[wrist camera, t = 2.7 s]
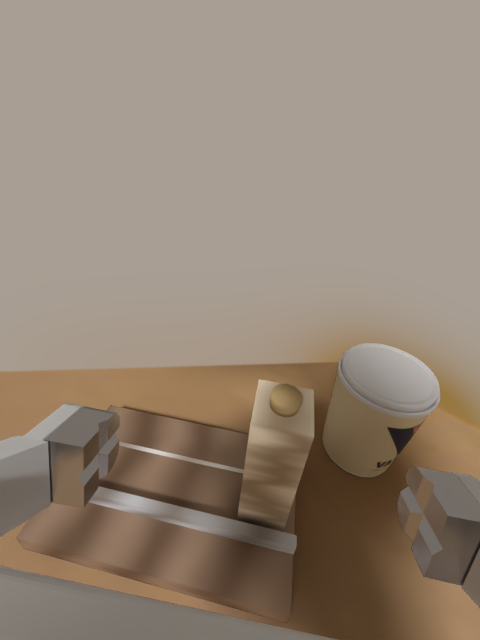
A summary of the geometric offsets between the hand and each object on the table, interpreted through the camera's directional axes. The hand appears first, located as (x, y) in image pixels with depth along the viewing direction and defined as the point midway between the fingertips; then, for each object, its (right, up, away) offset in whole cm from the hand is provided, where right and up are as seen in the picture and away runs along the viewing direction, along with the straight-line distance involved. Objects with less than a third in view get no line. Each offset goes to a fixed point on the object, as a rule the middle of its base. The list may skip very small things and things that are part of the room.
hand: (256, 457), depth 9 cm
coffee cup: (+13, -11, +28) cm, 33 cm away
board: (-6, -13, +22) cm, 26 cm away
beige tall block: (+2, -13, +20) cm, 23 cm away
